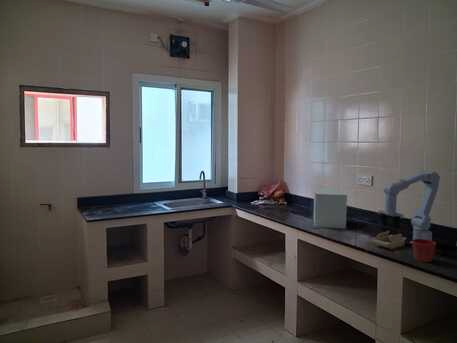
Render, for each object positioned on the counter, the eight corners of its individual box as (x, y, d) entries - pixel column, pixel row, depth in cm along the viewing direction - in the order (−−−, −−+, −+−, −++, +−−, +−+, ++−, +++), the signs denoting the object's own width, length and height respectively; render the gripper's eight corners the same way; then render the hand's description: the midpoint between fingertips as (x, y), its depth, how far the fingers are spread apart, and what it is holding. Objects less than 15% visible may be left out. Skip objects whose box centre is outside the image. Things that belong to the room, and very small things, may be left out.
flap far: (390, 231, 208) (389, 230, 208) (378, 234, 201) (378, 233, 201) (386, 235, 210) (386, 235, 210) (375, 239, 203) (375, 238, 203)
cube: (313, 219, 270) (314, 189, 268) (341, 221, 265) (342, 190, 263) (314, 227, 245) (315, 193, 243) (345, 229, 241) (347, 195, 239)
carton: (407, 244, 204) (408, 238, 204) (387, 250, 192) (388, 244, 191) (390, 239, 213) (390, 234, 213) (370, 245, 201) (370, 240, 200)
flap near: (403, 239, 202) (403, 239, 201) (392, 243, 195) (392, 243, 194) (400, 233, 203) (400, 233, 203) (389, 236, 196) (389, 236, 196)
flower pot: (409, 255, 184) (409, 237, 183) (431, 257, 181) (432, 239, 180) (413, 261, 174) (414, 243, 173) (437, 264, 171) (439, 245, 170)
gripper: (375, 204, 204) (374, 226, 205) (399, 207, 192) (398, 231, 193) (382, 202, 208) (381, 224, 209) (405, 206, 196) (404, 229, 198)
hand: (389, 227), depth 202 cm, fingers open, 6 cm apart
